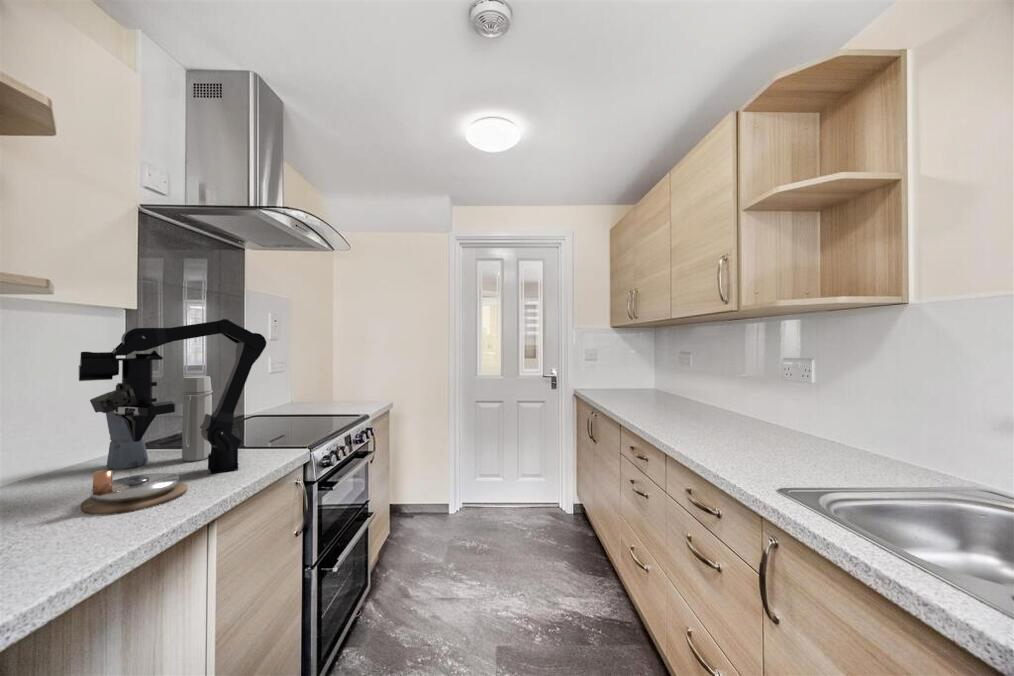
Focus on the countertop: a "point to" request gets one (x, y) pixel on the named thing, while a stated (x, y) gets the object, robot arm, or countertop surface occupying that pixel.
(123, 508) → the wheel base
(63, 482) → the countertop surface
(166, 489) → the handwheel
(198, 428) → the water bottle
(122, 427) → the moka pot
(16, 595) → the countertop surface
